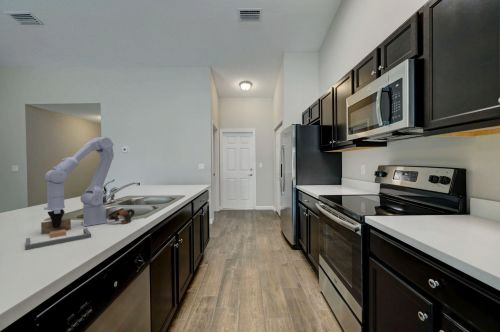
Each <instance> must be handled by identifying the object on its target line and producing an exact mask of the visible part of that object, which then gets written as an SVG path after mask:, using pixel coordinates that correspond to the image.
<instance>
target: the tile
mask: <svg viewBox="0 0 500 332" xmlns="http://www.w3.org/2000/svg"><path fill="white" fill-rule="evenodd" d="M65 236H66V237H67V230H65V229H62V230H56V231H50V233H49V238H50V239H54V238H58V237H60V238H61V237H65Z"/></svg>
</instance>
